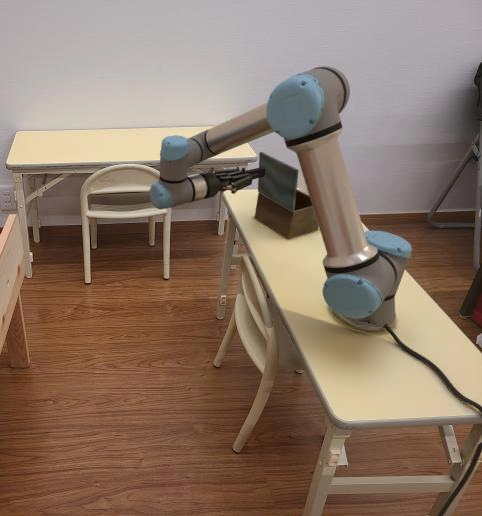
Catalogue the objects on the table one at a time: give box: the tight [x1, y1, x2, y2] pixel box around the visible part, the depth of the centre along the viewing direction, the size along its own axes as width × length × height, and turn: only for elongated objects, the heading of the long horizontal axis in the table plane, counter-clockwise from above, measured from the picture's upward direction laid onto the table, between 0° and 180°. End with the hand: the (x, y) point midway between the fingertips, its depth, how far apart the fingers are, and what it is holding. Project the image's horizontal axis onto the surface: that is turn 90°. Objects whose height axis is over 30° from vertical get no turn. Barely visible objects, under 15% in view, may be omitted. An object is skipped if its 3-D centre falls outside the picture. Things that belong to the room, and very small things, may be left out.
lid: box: [257, 151, 299, 212], centre depth 157 cm, size 14×17×1 cm
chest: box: [253, 189, 319, 240], centre depth 167 cm, size 14×17×10 cm
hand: (263, 171), depth 152 cm, fingers closed
